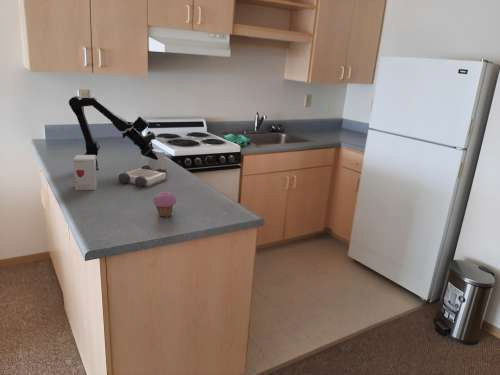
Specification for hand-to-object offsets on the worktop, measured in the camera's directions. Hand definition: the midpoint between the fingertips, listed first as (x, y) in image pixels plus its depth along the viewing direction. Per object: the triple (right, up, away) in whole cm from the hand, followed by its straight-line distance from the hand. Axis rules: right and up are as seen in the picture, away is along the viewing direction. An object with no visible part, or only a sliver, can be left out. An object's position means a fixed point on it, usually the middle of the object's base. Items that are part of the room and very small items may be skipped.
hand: (157, 157), depth 225 cm
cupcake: (+17, -29, -62) cm, 70 cm away
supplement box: (-26, -17, -34) cm, 46 cm away
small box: (-2, -7, +2) cm, 7 cm away
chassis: (-3, -13, -18) cm, 23 cm away
